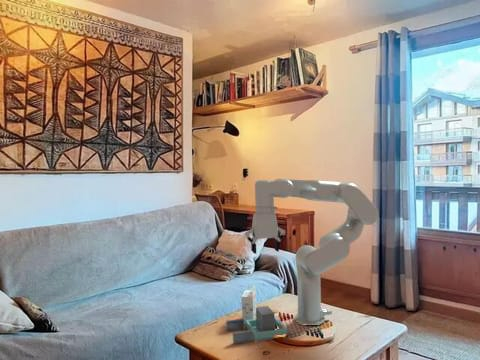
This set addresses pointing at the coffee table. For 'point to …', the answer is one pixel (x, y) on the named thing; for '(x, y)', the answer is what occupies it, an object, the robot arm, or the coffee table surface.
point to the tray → (265, 334)
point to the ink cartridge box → (249, 304)
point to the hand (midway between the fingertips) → (265, 251)
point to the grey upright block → (265, 319)
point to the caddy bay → (239, 336)
